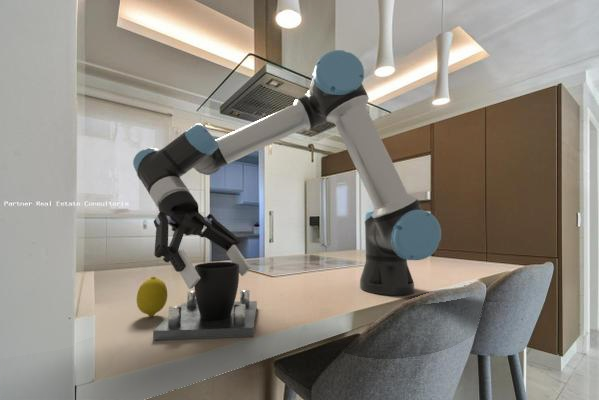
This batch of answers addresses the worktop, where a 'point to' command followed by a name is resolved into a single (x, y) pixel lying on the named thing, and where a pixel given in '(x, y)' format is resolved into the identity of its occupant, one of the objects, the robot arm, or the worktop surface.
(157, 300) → the lemon
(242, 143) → the robot arm
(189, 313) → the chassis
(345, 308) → the worktop surface
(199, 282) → the mug
